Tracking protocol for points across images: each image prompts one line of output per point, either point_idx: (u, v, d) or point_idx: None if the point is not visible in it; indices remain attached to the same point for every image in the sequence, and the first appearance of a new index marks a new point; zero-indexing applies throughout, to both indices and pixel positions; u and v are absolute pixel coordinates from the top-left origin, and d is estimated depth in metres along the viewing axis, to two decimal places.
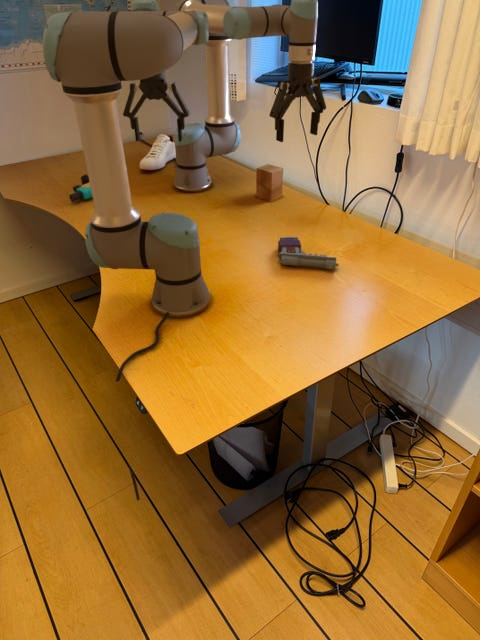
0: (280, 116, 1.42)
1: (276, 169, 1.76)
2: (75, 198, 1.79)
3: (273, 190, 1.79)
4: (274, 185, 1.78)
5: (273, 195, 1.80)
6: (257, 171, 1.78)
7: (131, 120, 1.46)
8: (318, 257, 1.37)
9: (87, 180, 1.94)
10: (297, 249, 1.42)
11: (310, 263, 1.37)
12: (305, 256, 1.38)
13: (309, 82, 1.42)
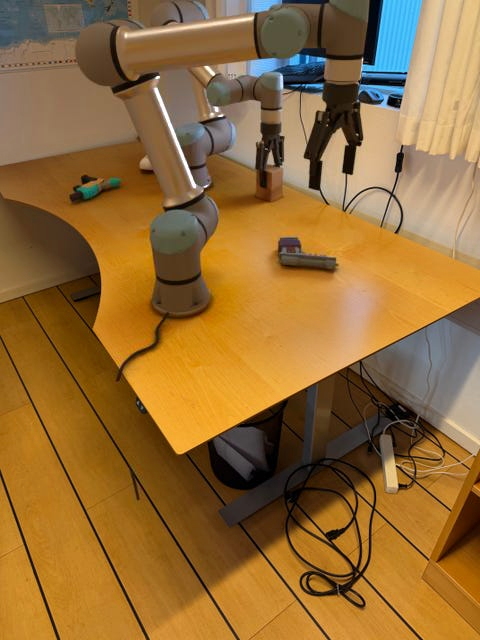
0: None
1: (276, 169, 1.76)
2: (75, 198, 1.79)
3: (273, 190, 1.79)
4: (274, 185, 1.78)
5: (273, 195, 1.80)
6: (257, 171, 1.78)
7: (316, 164, 1.03)
8: (318, 257, 1.37)
9: (87, 180, 1.94)
10: (297, 249, 1.42)
11: (310, 263, 1.37)
12: (305, 256, 1.38)
13: None
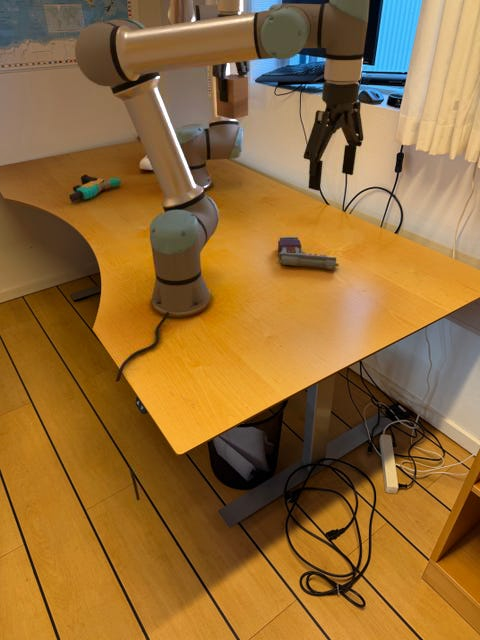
0: None
1: (238, 77, 1.45)
2: (75, 198, 1.79)
3: (236, 104, 1.47)
4: (237, 98, 1.47)
5: (236, 110, 1.48)
6: (217, 81, 1.47)
7: (316, 164, 1.03)
8: (318, 257, 1.37)
9: (87, 180, 1.94)
10: (297, 249, 1.42)
11: (310, 263, 1.37)
12: (305, 256, 1.38)
13: None
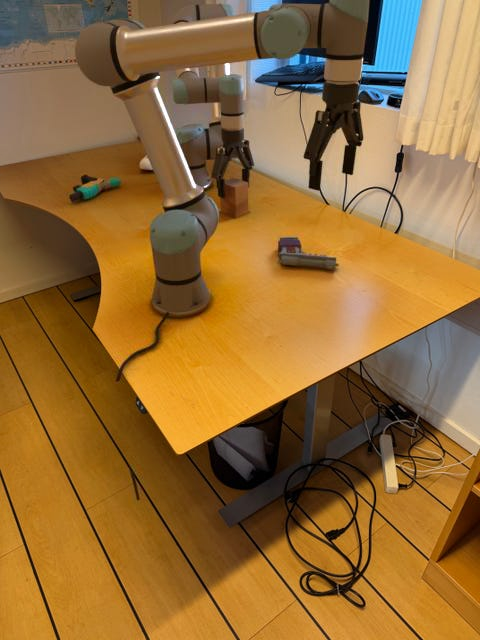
0: None
1: (240, 183, 1.65)
2: (75, 198, 1.79)
3: (238, 205, 1.67)
4: (239, 201, 1.67)
5: (237, 211, 1.68)
6: None
7: (316, 164, 1.03)
8: (318, 257, 1.37)
9: (87, 180, 1.94)
10: (297, 249, 1.42)
11: (310, 263, 1.37)
12: (305, 256, 1.38)
13: None
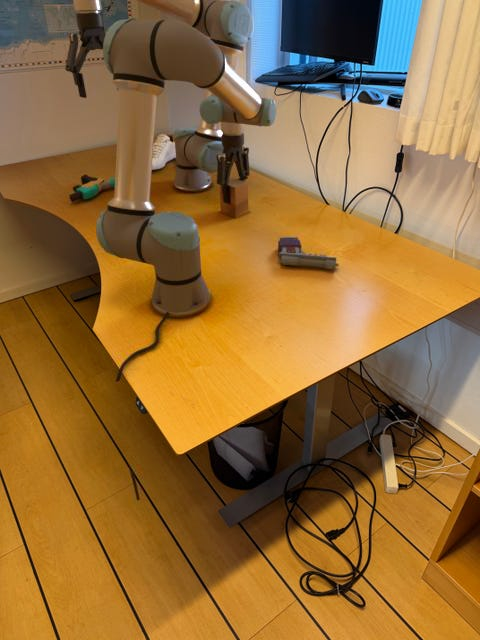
0: None
1: (240, 184, 1.65)
2: (75, 198, 1.79)
3: (237, 205, 1.67)
4: (239, 201, 1.67)
5: (237, 211, 1.68)
6: (220, 186, 1.67)
7: (225, 187, 1.63)
8: (318, 257, 1.37)
9: (87, 180, 1.94)
10: (297, 249, 1.42)
11: (310, 263, 1.37)
12: (305, 256, 1.38)
13: None
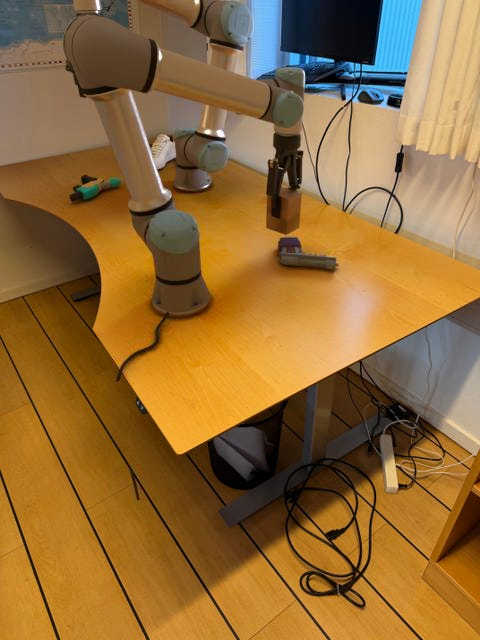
0: None
1: (292, 194, 1.36)
2: (75, 198, 1.79)
3: (289, 220, 1.38)
4: (291, 215, 1.38)
5: (288, 226, 1.39)
6: (268, 196, 1.38)
7: (276, 199, 1.34)
8: (318, 257, 1.37)
9: (87, 180, 1.94)
10: (297, 249, 1.42)
11: (310, 263, 1.37)
12: (305, 256, 1.38)
13: None
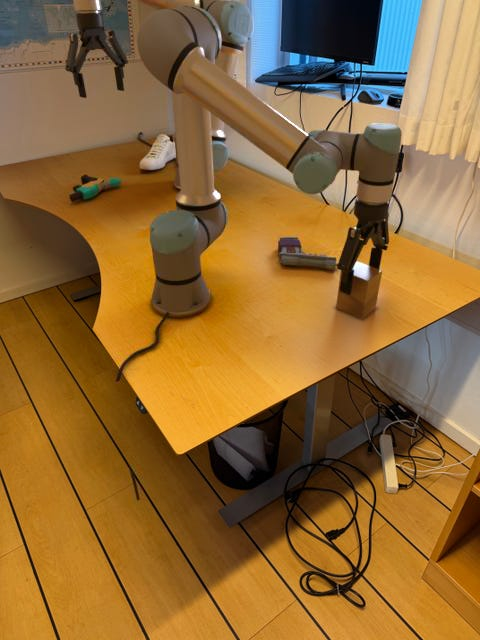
0: None
1: (372, 274, 1.14)
2: (75, 198, 1.79)
3: (366, 303, 1.17)
4: (369, 297, 1.16)
5: (365, 310, 1.18)
6: None
7: (348, 273, 1.10)
8: (318, 257, 1.37)
9: (87, 180, 1.94)
10: (297, 249, 1.42)
11: (310, 263, 1.37)
12: (305, 256, 1.38)
13: None
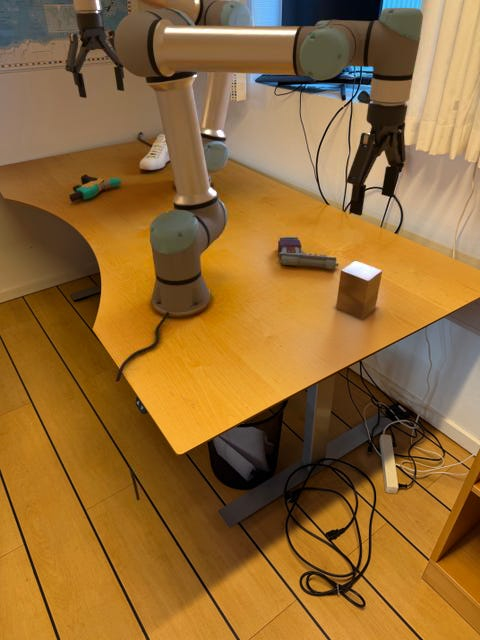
0: None
1: (372, 274, 1.14)
2: (75, 198, 1.79)
3: (366, 303, 1.17)
4: (369, 297, 1.16)
5: (365, 310, 1.18)
6: (342, 275, 1.16)
7: (359, 188, 0.97)
8: (318, 257, 1.37)
9: (87, 180, 1.94)
10: (297, 249, 1.42)
11: (310, 263, 1.37)
12: (305, 256, 1.38)
13: None
